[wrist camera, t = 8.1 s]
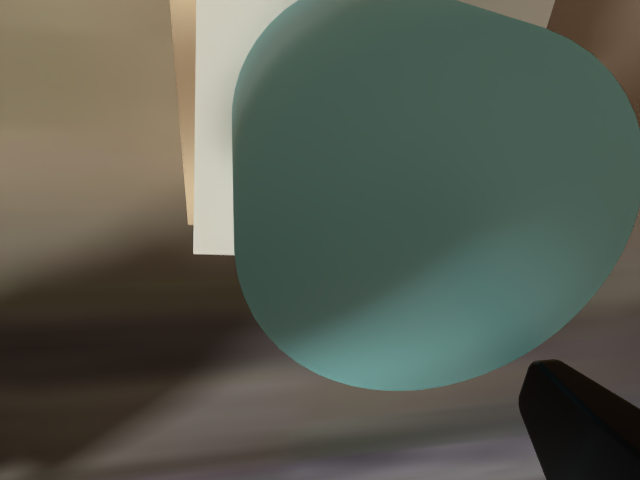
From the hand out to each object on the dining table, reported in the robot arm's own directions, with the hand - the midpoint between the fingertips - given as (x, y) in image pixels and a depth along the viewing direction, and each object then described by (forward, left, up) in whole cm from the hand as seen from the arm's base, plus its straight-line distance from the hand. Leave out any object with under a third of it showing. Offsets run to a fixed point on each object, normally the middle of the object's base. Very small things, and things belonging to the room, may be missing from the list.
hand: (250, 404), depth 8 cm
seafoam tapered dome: (+4, -1, -5) cm, 6 cm away
